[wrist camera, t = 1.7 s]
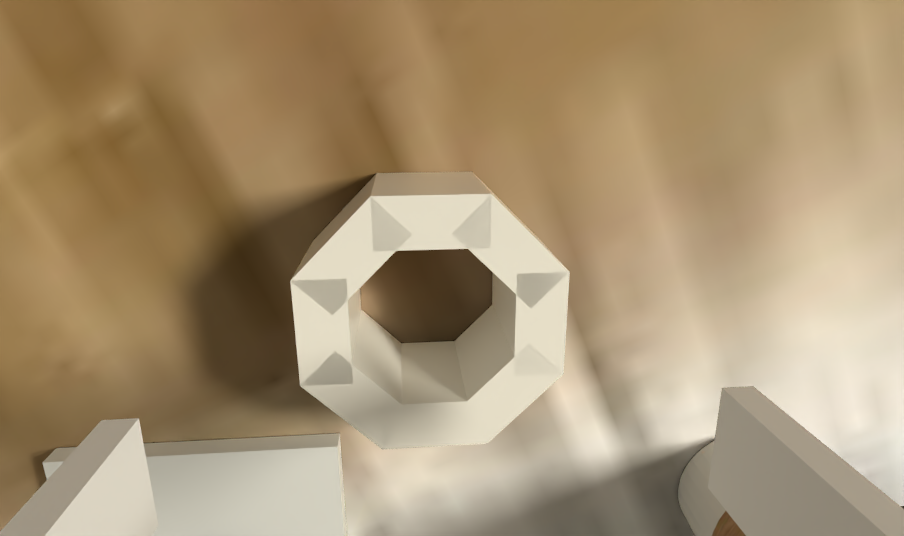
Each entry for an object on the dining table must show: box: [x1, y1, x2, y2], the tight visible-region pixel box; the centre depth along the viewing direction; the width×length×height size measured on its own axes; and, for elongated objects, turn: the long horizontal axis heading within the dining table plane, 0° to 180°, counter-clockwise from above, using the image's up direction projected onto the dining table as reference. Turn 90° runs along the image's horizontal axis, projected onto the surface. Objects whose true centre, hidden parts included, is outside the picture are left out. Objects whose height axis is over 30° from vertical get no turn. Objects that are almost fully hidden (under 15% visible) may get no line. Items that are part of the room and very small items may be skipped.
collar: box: [290, 172, 570, 449], centre depth 21 cm, size 9×9×5 cm
